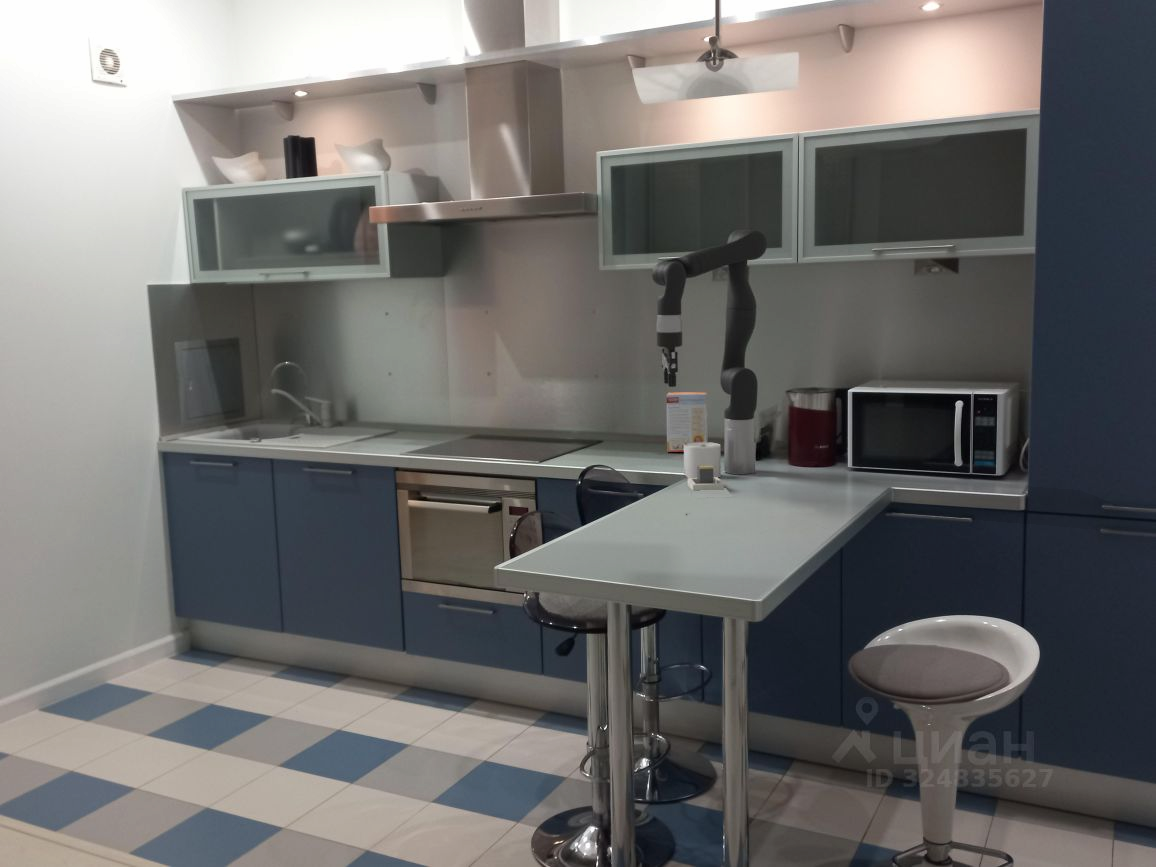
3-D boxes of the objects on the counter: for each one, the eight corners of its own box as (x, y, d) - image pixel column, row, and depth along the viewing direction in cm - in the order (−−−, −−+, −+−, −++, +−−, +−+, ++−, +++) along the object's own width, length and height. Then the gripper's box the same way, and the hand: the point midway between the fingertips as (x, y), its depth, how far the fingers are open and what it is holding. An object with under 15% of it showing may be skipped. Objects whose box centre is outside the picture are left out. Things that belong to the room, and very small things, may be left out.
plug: (710, 486, 303) (710, 463, 302) (713, 489, 299) (713, 466, 298) (697, 486, 302) (697, 464, 301) (699, 489, 299) (699, 467, 297)
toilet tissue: (718, 480, 314) (718, 448, 313) (679, 479, 317) (679, 447, 315) (722, 473, 324) (722, 442, 323) (684, 472, 327) (684, 441, 326)
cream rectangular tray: (722, 486, 306) (722, 476, 306) (735, 500, 288) (735, 489, 288) (685, 487, 306) (685, 478, 305) (696, 501, 288) (696, 491, 287)
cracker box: (707, 450, 364) (707, 391, 360) (707, 453, 358) (706, 393, 355) (668, 450, 366) (667, 391, 363) (666, 453, 361) (666, 393, 357)
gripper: (686, 331, 297) (686, 387, 299) (678, 328, 311) (678, 381, 313) (660, 332, 296) (660, 388, 299) (653, 329, 310) (653, 382, 313)
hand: (669, 385), depth 306 cm, fingers open, 8 cm apart
